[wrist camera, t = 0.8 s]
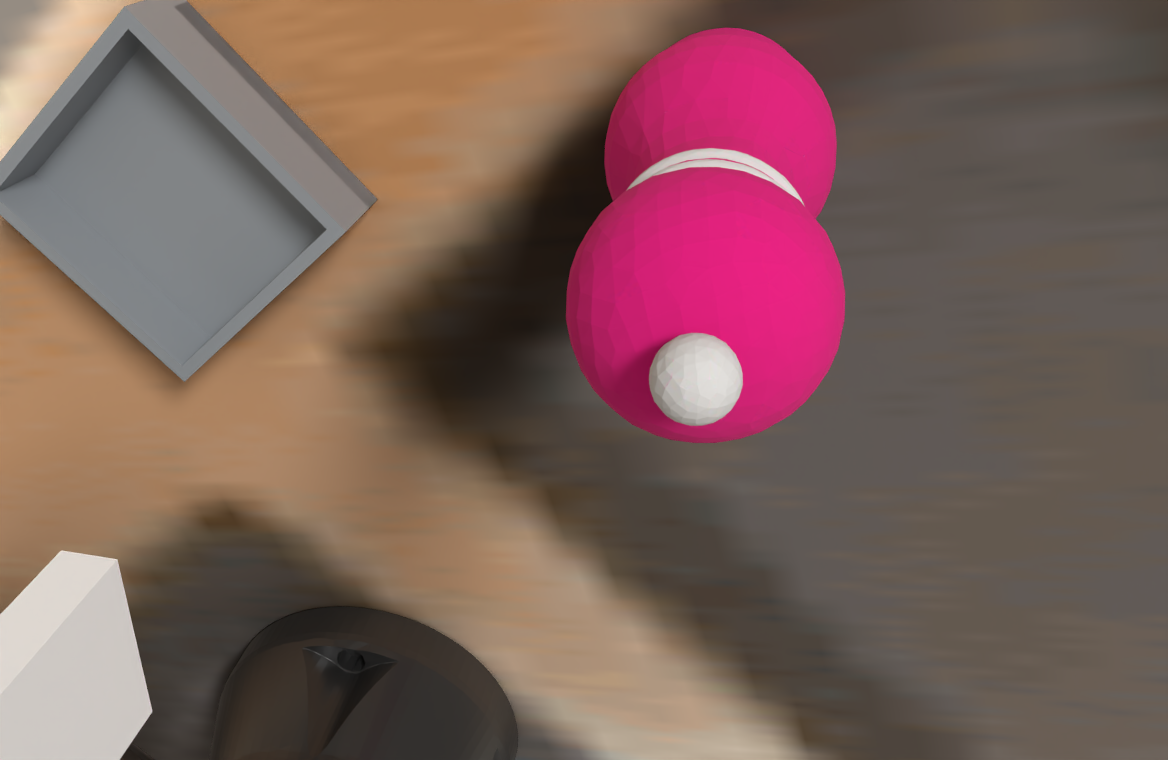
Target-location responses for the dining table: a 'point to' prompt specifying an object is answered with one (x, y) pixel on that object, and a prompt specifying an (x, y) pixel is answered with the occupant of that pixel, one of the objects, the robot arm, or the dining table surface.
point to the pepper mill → (711, 244)
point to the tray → (175, 184)
